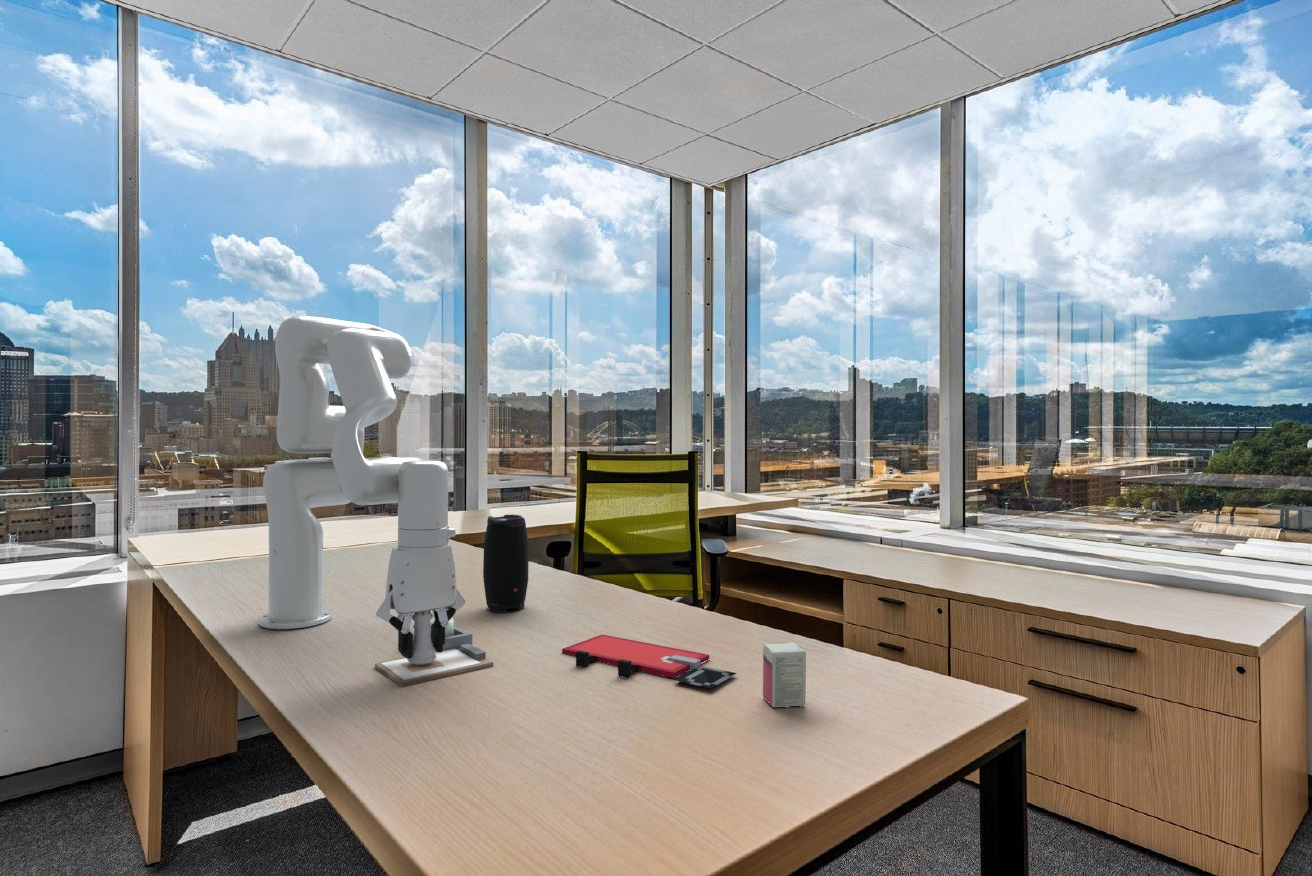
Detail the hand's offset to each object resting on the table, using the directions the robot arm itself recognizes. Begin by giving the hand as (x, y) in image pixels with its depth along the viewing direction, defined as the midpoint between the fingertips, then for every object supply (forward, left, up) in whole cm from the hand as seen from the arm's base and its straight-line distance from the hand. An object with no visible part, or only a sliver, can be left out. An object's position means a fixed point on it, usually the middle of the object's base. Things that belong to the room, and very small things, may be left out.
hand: (421, 652), depth 114 cm
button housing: (-9, +7, -3) cm, 12 cm away
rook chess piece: (0, 0, -2) cm, 2 cm away
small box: (+45, +34, -3) cm, 57 cm away
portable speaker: (-26, +29, -3) cm, 39 cm away
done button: (-9, +7, -1) cm, 11 cm away
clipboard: (0, +2, -3) cm, 3 cm away
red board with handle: (+20, +30, -3) cm, 36 cm away
